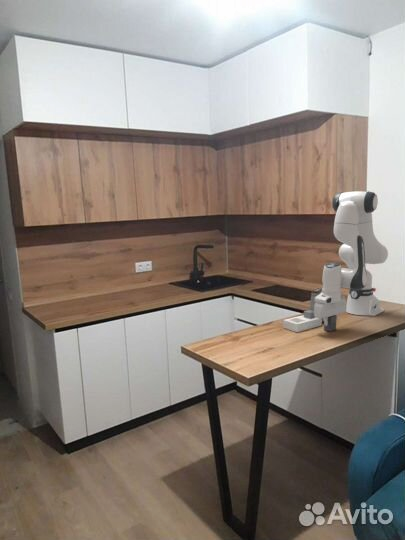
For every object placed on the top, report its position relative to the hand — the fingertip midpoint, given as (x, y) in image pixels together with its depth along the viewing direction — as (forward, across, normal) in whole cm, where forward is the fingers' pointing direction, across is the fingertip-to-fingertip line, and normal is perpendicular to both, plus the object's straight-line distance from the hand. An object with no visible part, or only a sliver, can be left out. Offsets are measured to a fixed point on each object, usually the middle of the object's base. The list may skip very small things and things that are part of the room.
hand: (330, 324), depth 200 cm
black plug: (+3, 0, 0) cm, 3 cm away
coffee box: (+3, -10, -15) cm, 18 cm away
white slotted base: (+3, +6, -12) cm, 14 cm away
